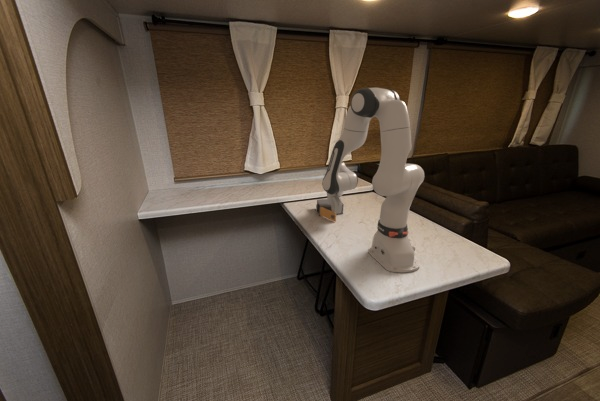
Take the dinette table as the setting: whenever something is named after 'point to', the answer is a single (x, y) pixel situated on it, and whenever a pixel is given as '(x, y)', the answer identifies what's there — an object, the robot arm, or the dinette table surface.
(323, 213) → the side door
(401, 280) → the dinette table surface
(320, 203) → the camera block
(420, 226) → the dinette table surface
